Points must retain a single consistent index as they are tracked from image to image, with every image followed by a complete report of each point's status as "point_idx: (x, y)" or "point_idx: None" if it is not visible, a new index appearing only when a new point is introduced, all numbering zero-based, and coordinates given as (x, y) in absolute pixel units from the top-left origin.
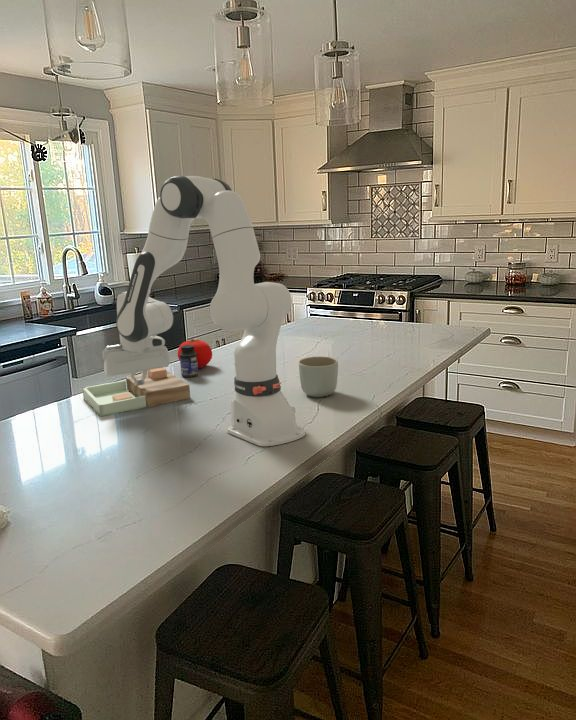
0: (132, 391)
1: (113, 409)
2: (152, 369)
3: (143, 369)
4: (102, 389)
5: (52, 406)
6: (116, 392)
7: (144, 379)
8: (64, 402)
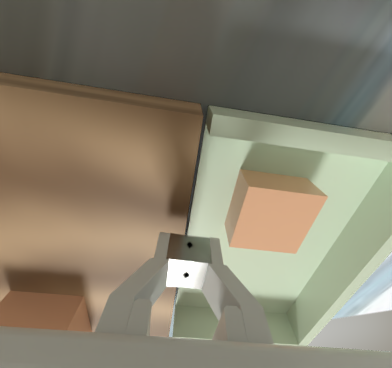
0: None
1: (374, 134)
2: None
3: (136, 355)
4: None
5: (378, 308)
6: None
7: None
8: (339, 314)
